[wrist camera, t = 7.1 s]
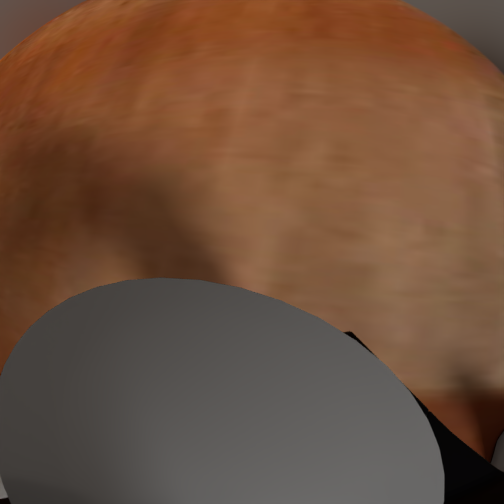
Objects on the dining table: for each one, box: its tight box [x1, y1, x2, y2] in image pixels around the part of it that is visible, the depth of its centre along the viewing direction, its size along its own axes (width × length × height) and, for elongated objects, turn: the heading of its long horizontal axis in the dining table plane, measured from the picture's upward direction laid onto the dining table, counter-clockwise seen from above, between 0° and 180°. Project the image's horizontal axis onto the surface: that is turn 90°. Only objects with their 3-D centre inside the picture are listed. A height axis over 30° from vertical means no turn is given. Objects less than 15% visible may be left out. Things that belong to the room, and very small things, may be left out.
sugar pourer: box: [0, 278, 444, 504], centre depth 8 cm, size 5×5×13 cm
